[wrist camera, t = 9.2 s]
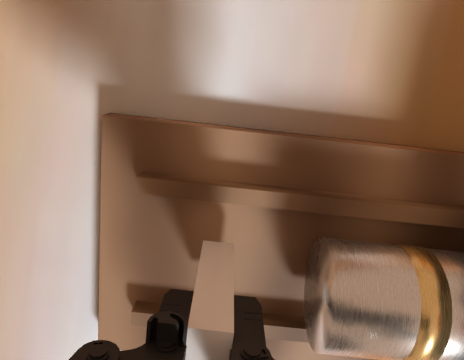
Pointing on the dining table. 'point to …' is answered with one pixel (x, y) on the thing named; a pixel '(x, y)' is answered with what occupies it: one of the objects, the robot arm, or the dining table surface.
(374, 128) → the dining table surface
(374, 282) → the pipe
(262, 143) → the board
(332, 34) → the dining table surface
